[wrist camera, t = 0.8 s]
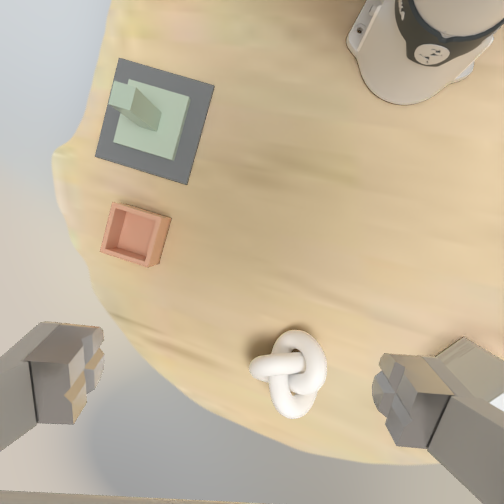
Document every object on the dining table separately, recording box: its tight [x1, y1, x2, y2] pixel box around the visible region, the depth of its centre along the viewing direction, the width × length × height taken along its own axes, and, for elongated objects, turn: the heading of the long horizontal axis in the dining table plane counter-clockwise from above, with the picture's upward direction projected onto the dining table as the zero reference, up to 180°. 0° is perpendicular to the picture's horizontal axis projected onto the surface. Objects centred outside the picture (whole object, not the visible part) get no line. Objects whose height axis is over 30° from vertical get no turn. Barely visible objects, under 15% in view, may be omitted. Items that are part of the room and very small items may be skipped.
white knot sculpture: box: [249, 330, 327, 419], centre depth 47 cm, size 11×12×9 cm
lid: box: [108, 79, 191, 161], centre depth 44 cm, size 10×10×10 cm
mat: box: [95, 58, 214, 185], centre depth 49 cm, size 16×16×1 cm
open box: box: [100, 202, 172, 267], centre depth 49 cm, size 8×8×4 cm
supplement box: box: [436, 337, 504, 411], centre depth 43 cm, size 7×7×13 cm
